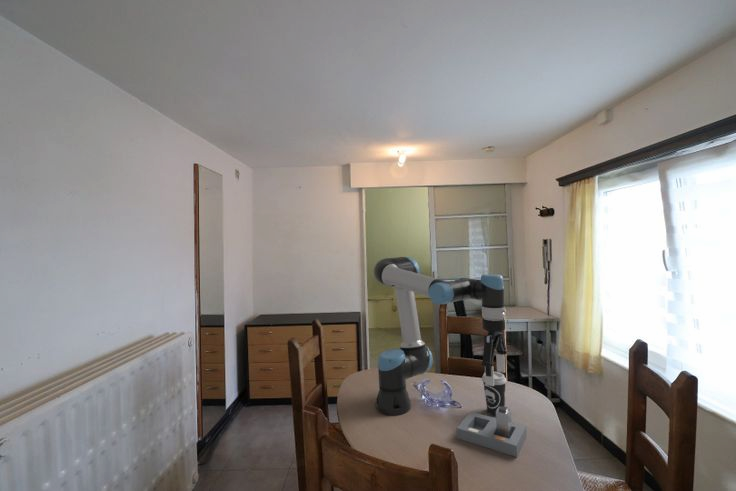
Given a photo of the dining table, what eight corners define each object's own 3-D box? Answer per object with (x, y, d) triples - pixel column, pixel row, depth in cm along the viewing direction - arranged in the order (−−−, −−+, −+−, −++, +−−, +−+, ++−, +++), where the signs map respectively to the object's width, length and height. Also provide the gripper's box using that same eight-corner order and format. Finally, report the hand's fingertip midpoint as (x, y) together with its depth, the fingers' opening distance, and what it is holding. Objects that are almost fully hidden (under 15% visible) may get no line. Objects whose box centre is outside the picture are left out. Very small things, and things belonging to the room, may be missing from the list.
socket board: (457, 438, 118) (456, 427, 118) (471, 420, 129) (470, 411, 129) (517, 457, 106) (516, 445, 106) (526, 436, 117) (526, 425, 117)
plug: (497, 440, 115) (495, 409, 115) (500, 434, 118) (498, 404, 118) (509, 443, 112) (507, 411, 112) (512, 438, 115) (510, 407, 116)
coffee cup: (510, 418, 130) (508, 380, 130) (485, 417, 132) (483, 379, 132) (505, 406, 139) (503, 371, 139) (481, 405, 141) (480, 370, 141)
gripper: (493, 327, 105) (496, 394, 105) (513, 312, 125) (515, 368, 125) (470, 324, 110) (472, 388, 110) (493, 310, 130) (495, 365, 130)
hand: (495, 378), depth 117 cm, fingers open, 13 cm apart
